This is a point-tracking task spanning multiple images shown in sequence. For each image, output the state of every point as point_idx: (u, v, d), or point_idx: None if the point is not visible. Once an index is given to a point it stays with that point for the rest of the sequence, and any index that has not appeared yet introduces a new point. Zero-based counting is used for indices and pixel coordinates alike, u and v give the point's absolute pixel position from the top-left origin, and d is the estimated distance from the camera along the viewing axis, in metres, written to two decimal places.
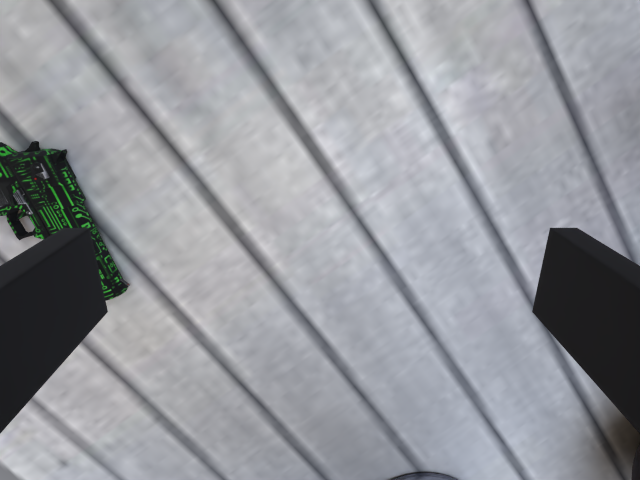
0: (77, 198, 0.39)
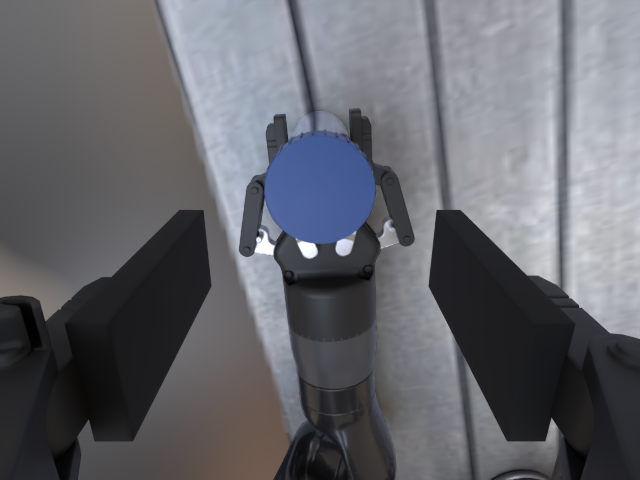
0: None
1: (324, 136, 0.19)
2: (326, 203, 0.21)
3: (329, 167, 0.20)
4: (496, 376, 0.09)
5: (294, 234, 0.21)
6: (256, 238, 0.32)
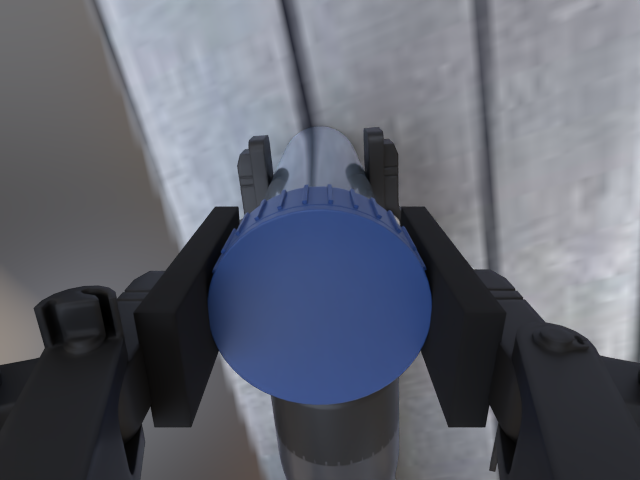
0: None
1: (329, 209, 0.09)
2: (332, 336, 0.10)
3: (340, 269, 0.10)
4: (441, 365, 0.09)
5: (270, 389, 0.11)
6: None
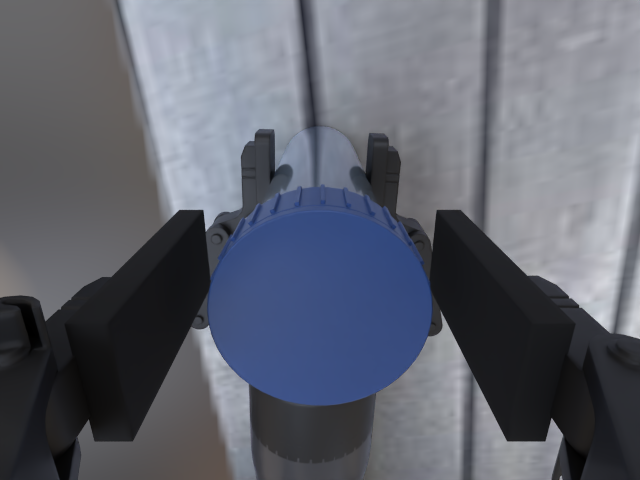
0: None
1: (217, 268, 0.10)
2: (346, 315, 0.10)
3: (278, 282, 0.10)
4: (496, 376, 0.09)
5: (376, 386, 0.11)
6: None
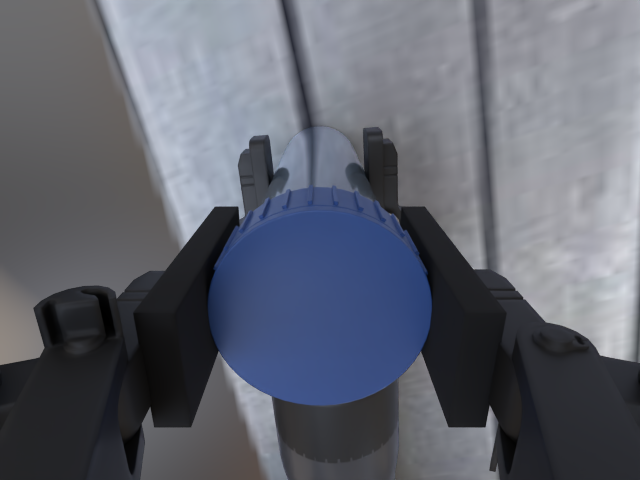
0: None
1: (213, 278, 0.10)
2: (345, 313, 0.10)
3: (274, 286, 0.10)
4: (441, 365, 0.09)
5: (385, 380, 0.11)
6: None
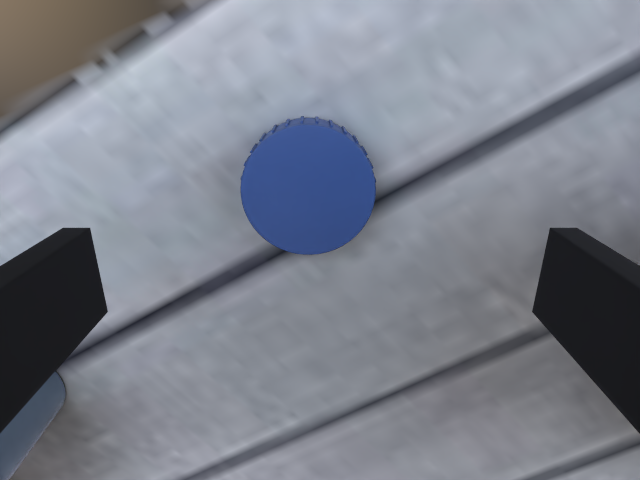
0: None
1: (244, 168, 0.16)
2: (323, 190, 0.17)
3: (281, 173, 0.16)
4: None
5: (348, 236, 0.18)
6: None
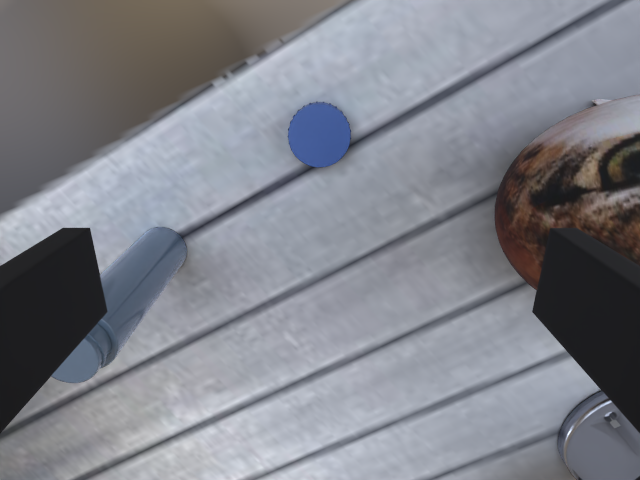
0: None
1: (290, 124, 0.36)
2: (326, 134, 0.36)
3: (307, 126, 0.36)
4: None
5: (338, 158, 0.37)
6: None
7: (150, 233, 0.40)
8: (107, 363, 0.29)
